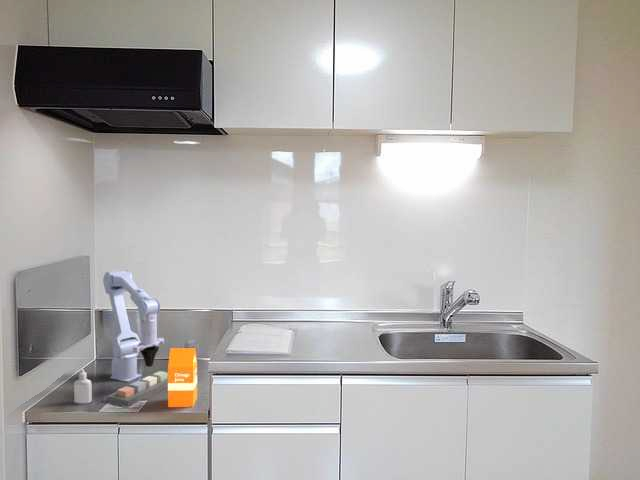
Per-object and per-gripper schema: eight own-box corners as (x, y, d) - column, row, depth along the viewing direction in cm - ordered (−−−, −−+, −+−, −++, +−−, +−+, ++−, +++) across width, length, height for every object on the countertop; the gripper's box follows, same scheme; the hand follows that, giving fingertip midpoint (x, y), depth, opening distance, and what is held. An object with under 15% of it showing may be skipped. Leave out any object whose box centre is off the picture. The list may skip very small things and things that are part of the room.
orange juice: (172, 398, 176) (172, 345, 175) (197, 398, 177) (197, 345, 176) (167, 407, 169) (167, 351, 167) (193, 406, 169) (193, 351, 168)
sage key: (152, 380, 190) (152, 374, 189) (159, 377, 193) (159, 371, 193) (160, 382, 188) (160, 375, 188) (167, 378, 192) (167, 372, 192)
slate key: (129, 391, 179) (129, 384, 178) (137, 387, 182) (137, 380, 182) (138, 392, 177) (138, 386, 177) (145, 389, 181) (145, 382, 180)
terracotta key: (117, 396, 173) (117, 390, 173) (125, 392, 177) (125, 386, 176) (125, 398, 171) (125, 391, 171) (134, 394, 175) (134, 388, 175)
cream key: (141, 385, 184) (141, 379, 184) (149, 382, 188) (149, 375, 188) (149, 387, 182) (149, 380, 182) (157, 383, 186) (157, 377, 186)
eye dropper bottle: (82, 406, 168) (81, 372, 167) (72, 402, 171) (72, 369, 170) (93, 401, 172) (93, 369, 171) (84, 398, 175) (83, 366, 174)
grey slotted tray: (106, 401, 172) (106, 396, 172) (157, 377, 196) (157, 373, 196) (128, 406, 169) (127, 400, 168) (176, 381, 192) (176, 377, 192)
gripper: (143, 337, 175) (143, 373, 176) (170, 328, 189) (170, 361, 190) (128, 334, 178) (129, 370, 179) (156, 326, 191) (156, 359, 192)
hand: (149, 365), depth 185 cm, fingers closed
